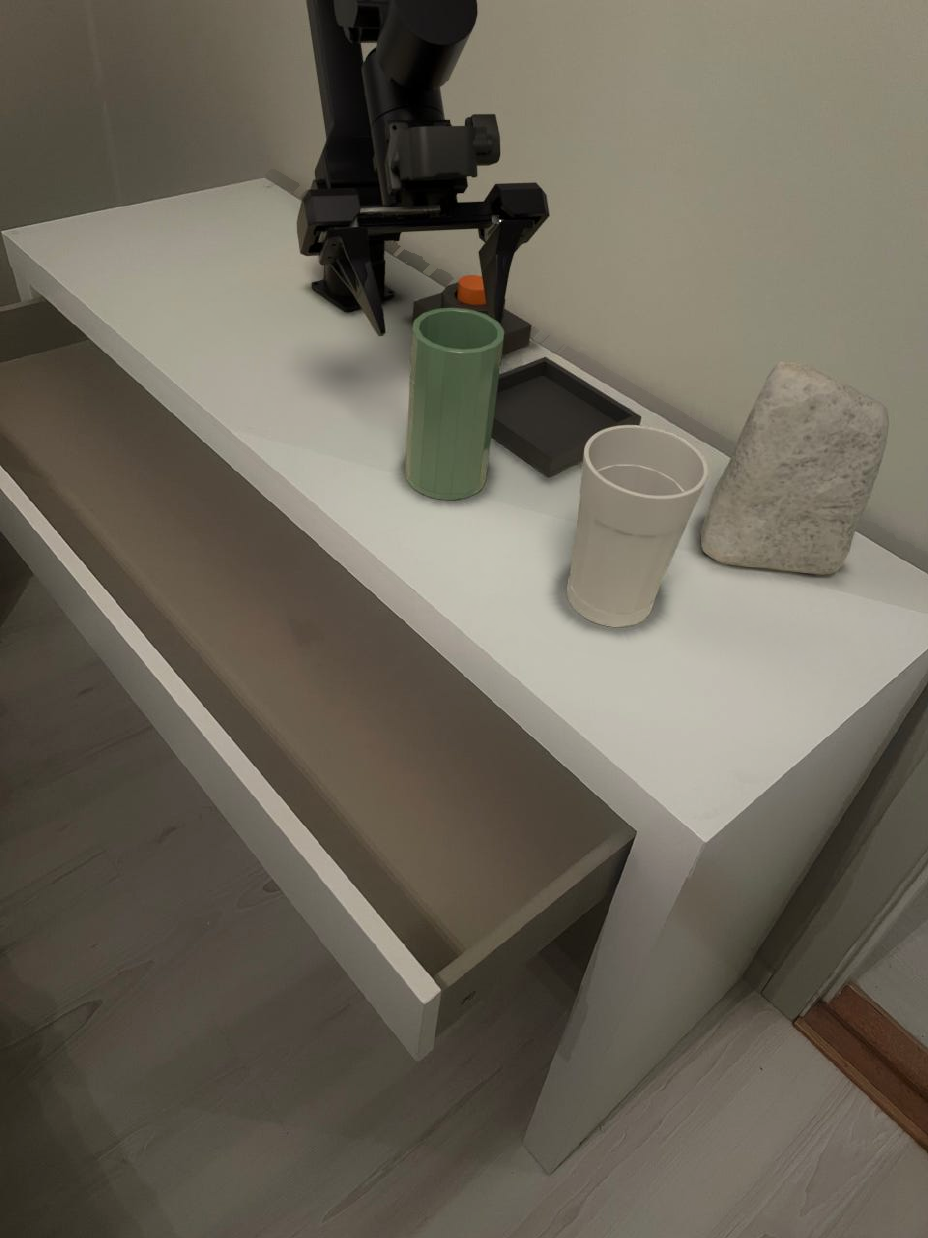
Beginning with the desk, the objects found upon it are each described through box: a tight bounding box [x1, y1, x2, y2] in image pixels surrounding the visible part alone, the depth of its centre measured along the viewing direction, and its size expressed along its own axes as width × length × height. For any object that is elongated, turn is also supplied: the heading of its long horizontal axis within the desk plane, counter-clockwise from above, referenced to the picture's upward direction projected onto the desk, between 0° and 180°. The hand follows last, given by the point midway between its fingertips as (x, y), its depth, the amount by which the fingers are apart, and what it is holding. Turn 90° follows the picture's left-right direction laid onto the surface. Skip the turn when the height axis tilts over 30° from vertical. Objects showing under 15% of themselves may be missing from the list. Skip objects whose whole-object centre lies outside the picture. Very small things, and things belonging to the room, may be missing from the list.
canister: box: [404, 308, 504, 501], centre depth 72 cm, size 7×7×13 cm
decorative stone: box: [700, 360, 890, 575], centre depth 68 cm, size 11×6×15 cm, turn 78°
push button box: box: [411, 282, 533, 356], centre depth 92 cm, size 10×7×4 cm
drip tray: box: [491, 356, 642, 479], centre depth 83 cm, size 12×11×2 cm
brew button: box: [457, 274, 486, 305], centre depth 91 cm, size 3×3×2 cm
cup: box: [566, 424, 709, 628], centre depth 63 cm, size 8×8×12 cm
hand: (440, 330), depth 71 cm, fingers open, 9 cm apart
